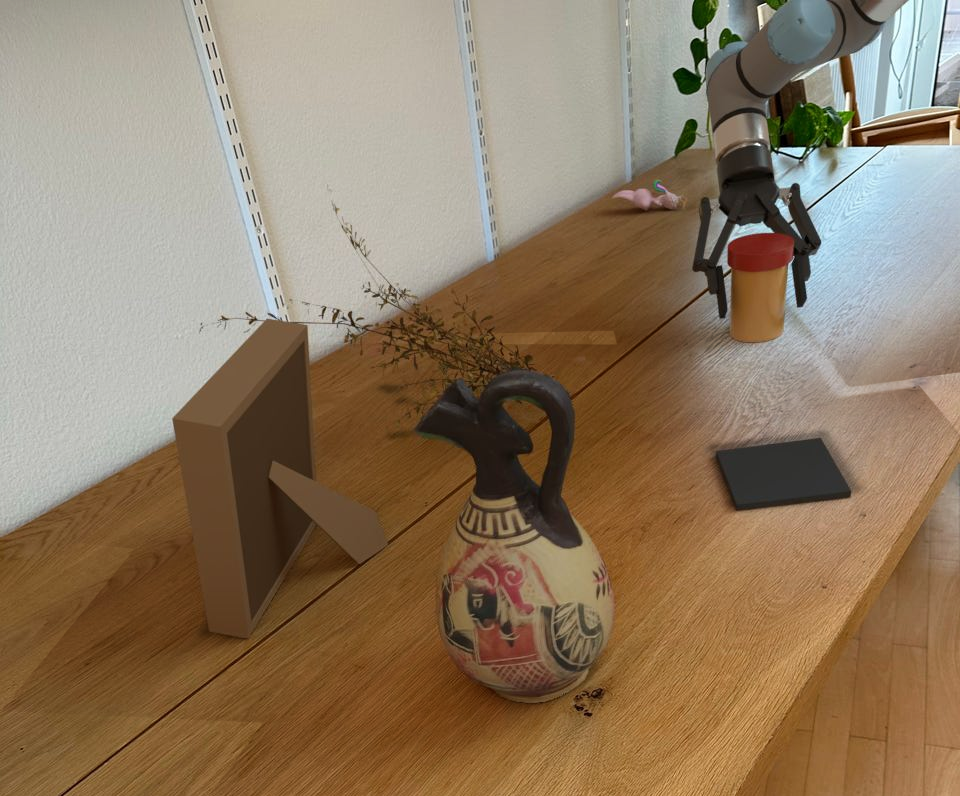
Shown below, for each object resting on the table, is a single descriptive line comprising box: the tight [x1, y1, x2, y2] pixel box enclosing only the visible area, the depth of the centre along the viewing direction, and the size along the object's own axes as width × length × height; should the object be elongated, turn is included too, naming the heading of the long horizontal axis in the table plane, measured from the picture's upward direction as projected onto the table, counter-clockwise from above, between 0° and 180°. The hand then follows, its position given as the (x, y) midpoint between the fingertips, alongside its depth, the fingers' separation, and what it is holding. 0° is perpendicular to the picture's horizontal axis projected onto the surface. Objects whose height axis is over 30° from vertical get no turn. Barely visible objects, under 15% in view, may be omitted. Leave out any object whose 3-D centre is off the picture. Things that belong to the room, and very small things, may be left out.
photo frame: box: [171, 318, 389, 639], centre depth 92 cm, size 15×22×25 cm
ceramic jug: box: [413, 368, 616, 704], centre depth 73 cm, size 17×15×30 cm
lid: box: [726, 232, 794, 272], centre depth 124 cm, size 9×9×2 cm
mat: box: [715, 437, 852, 512], centre depth 101 cm, size 12×12×1 cm
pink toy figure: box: [611, 179, 688, 212], centre depth 181 cm, size 6×6×15 cm
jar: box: [729, 264, 789, 343], centre depth 127 cm, size 8×8×12 cm
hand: (762, 308), depth 126 cm, fingers open, 10 cm apart
